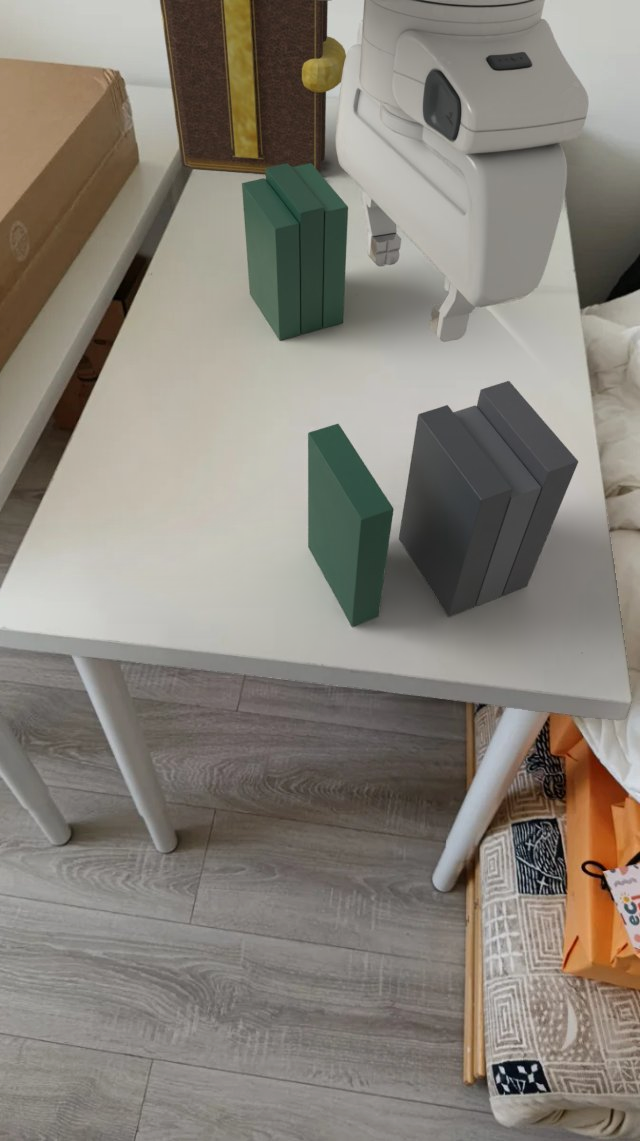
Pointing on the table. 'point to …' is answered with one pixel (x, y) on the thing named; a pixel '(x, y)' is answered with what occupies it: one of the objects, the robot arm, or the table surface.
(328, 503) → the green book
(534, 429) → the grey books
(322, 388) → the table surface
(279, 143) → the book
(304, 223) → the green books
